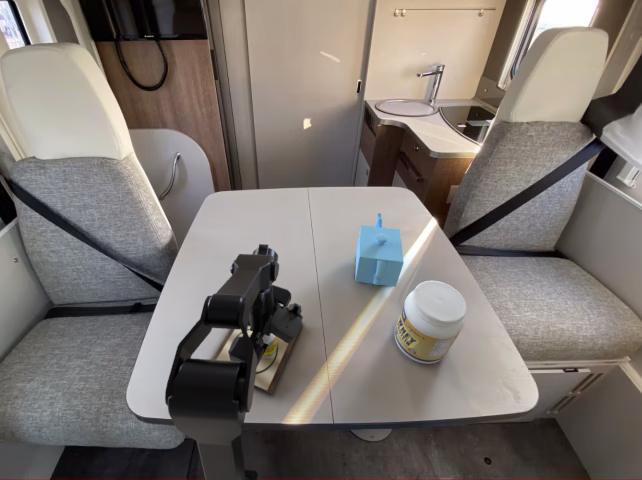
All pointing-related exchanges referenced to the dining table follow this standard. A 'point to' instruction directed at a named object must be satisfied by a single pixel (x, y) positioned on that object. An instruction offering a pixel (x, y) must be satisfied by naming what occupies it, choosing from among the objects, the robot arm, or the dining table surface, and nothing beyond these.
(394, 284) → the teapot
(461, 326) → the supplement tub
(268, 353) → the supplement bottle
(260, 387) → the drawing board
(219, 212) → the dining table surface
